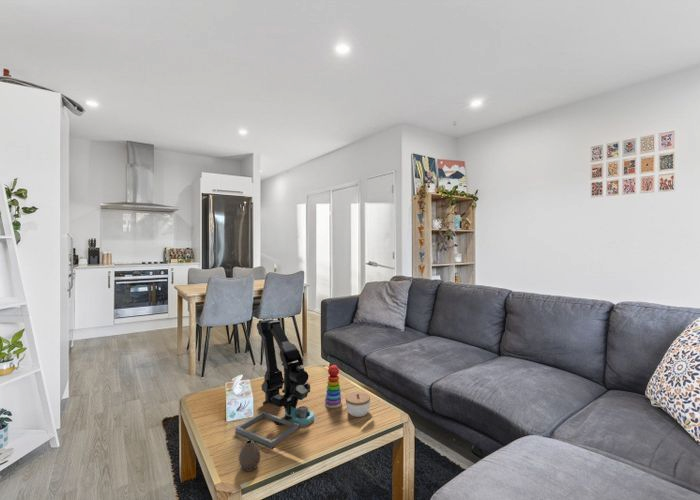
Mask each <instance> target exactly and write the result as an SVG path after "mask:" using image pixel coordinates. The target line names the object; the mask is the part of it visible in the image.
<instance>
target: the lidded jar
mask: <svg viewBox="0 0 700 500" xmlns="http://www.w3.org/2000/svg"><path fill="white" fill-rule="evenodd" d="M345 405H346V410H347V412H348V413H349V414H350V415H351V416H352V417H355V418H361V417H364V416H366V415H367V414H368V412H369V410H370V406H371V396H370V395H369V394H368V393H365V392H361V391H356V392H351V393H348V394H347V395H346V396H345Z"/></svg>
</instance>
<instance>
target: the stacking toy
mask: <svg viewBox="0 0 700 500" xmlns="http://www.w3.org/2000/svg"><path fill="white" fill-rule="evenodd" d="M327 369H328V370H327V373H328V378H327V382H326V384H327V385H326V388H327V389H326V394H325V399H324V407H326V408H328V409H330V408H331V409H336V408H340V407H341V406H342V405H343V401H342V393H341V385H340V381H339V380H340V379H339V378H340V377H339V373H340V368H339V367H338V366H337V365H336V364H332V365H330V366H329V367H328V368H327Z"/></svg>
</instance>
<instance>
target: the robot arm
mask: <svg viewBox="0 0 700 500" xmlns="http://www.w3.org/2000/svg"><path fill="white" fill-rule="evenodd" d="M256 329H257V331H258V332H257V333H258V335H259V336H260V337H261V338H262V343H263V350H264V356H265V364H266V371H265V374H264V376H263V377H264V381H263V382H262V384H261V386H260V387H261V390H262V392H263V393H264V395H265V396H264V397H265V398H264V399H265V400H264V401H262V404H263V405H267V404H270V405H273V406H277V407H279V408H282V407H284V411H285V410H286V412H287V414H288V415H290V413H291V407H294V408H297V405H298V402H299V401H302V400H304V399H306V398H307V397H308V394H309V393H310V392H311V384H310V383H309V382H308V381H309V374H308V372H307V371H306V370H305V367H303V366H304V360H303V357H302V354H301V353H300V351H299V349H298V348H297V346H296V345H295V344H294V343H292V342H291V341H290V340H289V339H288V337H287V335H286V333H285V331H284V329H283V328H282V326H281V322H280V320H277V319H275V320H274V318H271V317H270V318H266V319H260V320H259V321H258V322H257V323H256ZM274 340H275V341H274ZM275 342H276V344H277V346H278V347H279V358H280V360H281V362H282V363H281V366H283V371H282V370H280V369H279V368H278V362H277V356H276V348H275ZM280 390H281V393H283V394H281V393H280Z"/></svg>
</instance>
